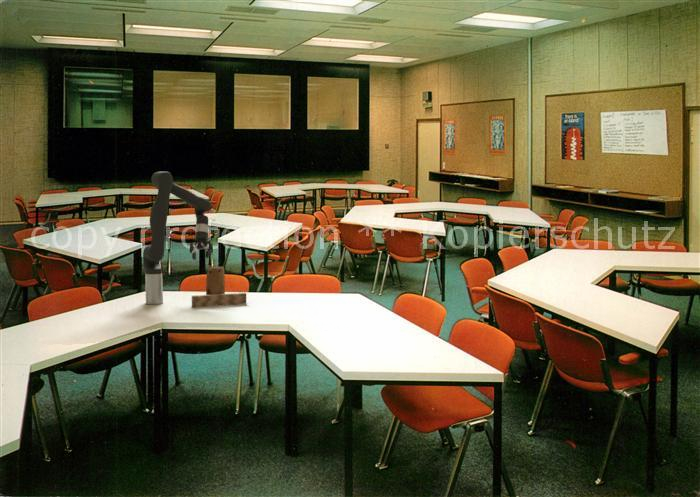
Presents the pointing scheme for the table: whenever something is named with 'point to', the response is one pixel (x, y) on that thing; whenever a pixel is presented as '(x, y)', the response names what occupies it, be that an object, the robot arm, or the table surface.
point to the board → (218, 299)
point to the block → (215, 281)
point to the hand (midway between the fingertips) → (200, 258)
